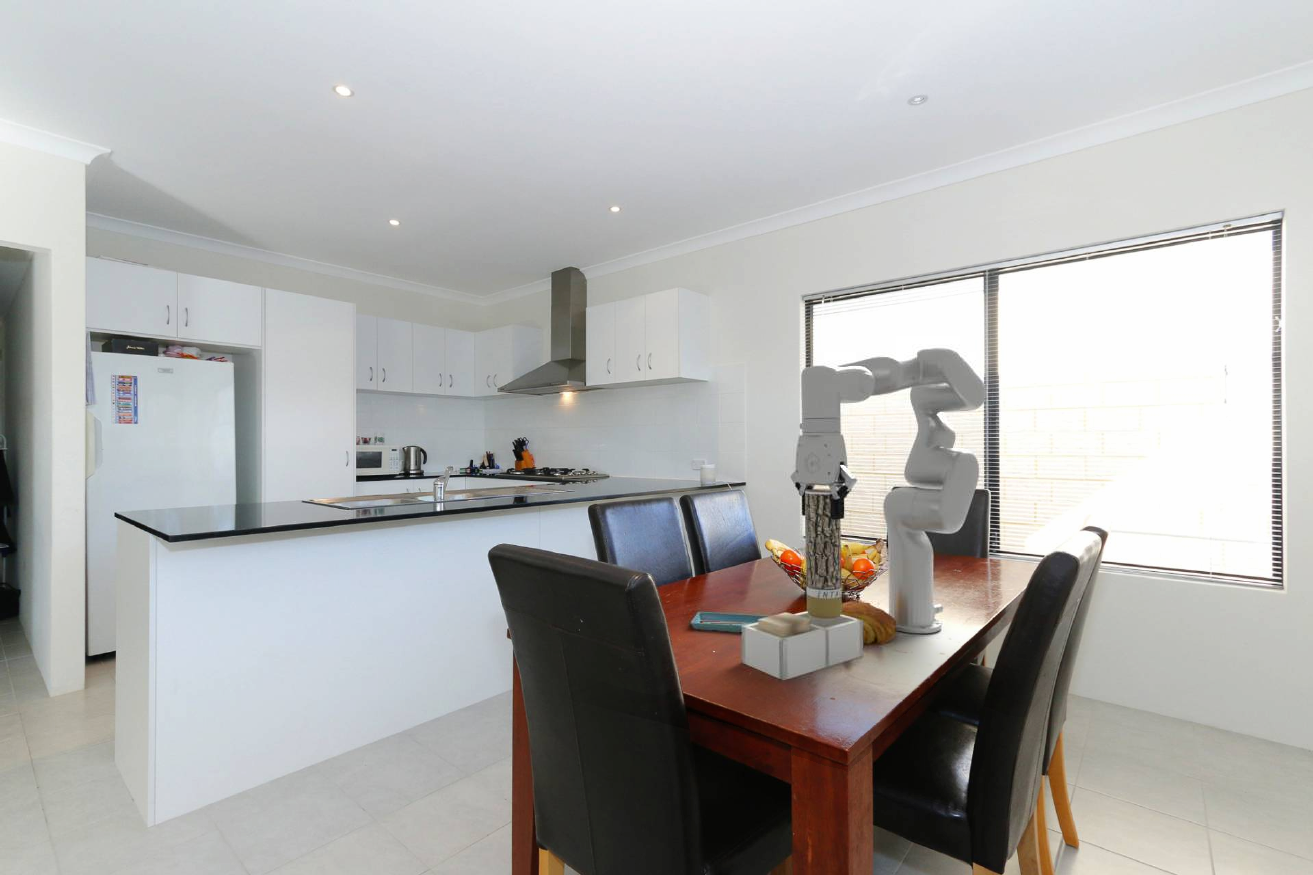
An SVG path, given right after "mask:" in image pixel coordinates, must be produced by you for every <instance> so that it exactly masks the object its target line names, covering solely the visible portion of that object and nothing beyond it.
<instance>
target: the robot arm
mask: <svg viewBox="0 0 1313 875" xmlns="http://www.w3.org/2000/svg"><path fill="white" fill-rule="evenodd" d="M800 374H801V376H800V379H801V380H800V382H801V383H800V386H801V390H800V391H801V394H800V395H801V423H800V424H799V429H800V430H801V435H799V436H798V438H797V445H796V453H795V465H794V466H795V468H794V469H795V470H794V472H792V473H791V475H790V479H791V481H792V482H793V483H794V486H795V488H796V489H797V491H798V495H799V496H800V497H801V515H802V516H804V517H805V490H807V489H815V487H816V486H827V487H829V488H828V489H830V490H831V493H832V495H833V498H834V499H831V519H833V520H836V519H840V520H842V519H845V499H846V498H848V495H849V494H850V492H851V491H852V489H853V487H854V486H855V485H856V484H857V483H858V481H857V480H858V479H857V478H856V477H855V476H854V475H853V473H851V471H850V470H849V469H848V456H847V448H846V443H845V439H844V434H842V431H841V430H842V428H841V426H842V425H841V424H842V422H841V417H842V416H841V415H842V413H841V404H856V403H857V404H858V403H861V402H864V401H866V400H868V399H869V398H870V397H874V396H875V397H876V396H882V395H888V394H892V393H896V392H899V391H903V390H906V389H910V393H909V399H910V403H911V406H912V410H913V412H914V416H915V420H916V423H917V433H916V436H915V440H914V441H913V444H912V447H911V449H910V452H909V454H908V457H907V460H906V463H905V467H904V470H903V471H904V472H903V474H904V479H905V481H906V482H907V483H908V484H909V485H910V486H909V487H907V486H906V487H902V486H901V487H897V488H893V489H892V490H891V491H889V492H888V493H887V494H886V495H885V497H884V500H883V514H884V520H885V524H886V530H887V541H888V549H887V550H888V551H887V552H888V556H887V557H888V562H887V563H888V614H889V615H890V616H892V617H893V618H894V619H895V620H896V622H897V624H896V626H895V627H896V632H897V631H898V632H903V633H910V634H932V633H933V634H934V633H937V632H940V630H942V623H941V622H940V621H939V620H938V619H936V618H935V617H936V616H935V615H936V614H940V613H942V612H943V611H944V608H943V607H944V606H942V604H940V603H938V604H937V603H936V604H934V548H933V546H932V543H931V541H930V539H929V537H928V535H927V534H926V532H929V533H937V534H948V535H949V534H950V535H951V534H954V533H957V532H959V530H960V529H961V528H962V527H963V525H964V523H965V521H966V518H967V516H968V512H969V509H970V507H971V504H972V501H973V498H974V494H975V491H976V488H977V487H978V486H977V485H978V482H979V477H980V464H979V461H978V459H977V458H978V457H976V455H975V454H974V453H973V452H972V451H971V450H968V449H964V448H955V447H954V446H955V443H956V439H957V438H956V432H955V429H954V427H953V426H952V424H951V423H950V422H949V420H948V419H947V418H946V417H945V414H944V413H949V412H950V413H951V412H952V413H953V412H970V411H975V410H978V409H980V408H981V406H983V405H984V403H985V401H986V397H987V392H986V391H987V390H986V386H985V383H984V381H983V378H982V377H981V376H980V374H979V373H978V372H977V371H976V370H975V369H974V367H973V366H972V365H971V363H970V362H969V361H968V360H967V359H966V358H965V356H964V355H963V354H962V353H961V352H960V351H959V350H957V349H956V348H954V347H952V346H950V345H947V344H946V345H945V344H944V345H943V344H942V345H935V346H933V345H932V346H928V347H921V348H920V347H919V348H912V349H911V348H910V349H907V350H902V351H897V352H893V353H889V354H883V355H880V356H875V357H870V358H866V359H862V360H859V361H855V362H851V363H844V364H840V365H835V366H834V365H812V366H807V367H804V368H803V369H802V371H801V373H800ZM911 486H912V487H911Z"/></svg>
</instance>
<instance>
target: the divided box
mask: <svg viewBox="0 0 1313 875" xmlns="http://www.w3.org/2000/svg"><path fill="white" fill-rule="evenodd" d="M794 615H798V616H802V617H805V618H809V619H810V632H807V633H803V634H799V635H795V636H791V637H787V638H780V637H777V636H775V635H772V634H769V633H766V632H763V631H761V630H758V622H757V623H753V624H748V625H744V626H742V633H741V663H742V664H745V665H747V666H748V667H752V668H754V669H756V670H758V671H759V672H760V671H761V672H764V673H766V674H767V675H769V676H772V677H774V678H777V679H779V680H781V681H786V680H789V679H793V678H796V677H799V676H803V675H805V674H810V673H812V672H816V671H818V670H823V669H825V668H829V667H833V666H835V665H839V664H842V663H845V662H848V661H851V660H854V659H857V658H861V657H863V656H864V644H863V620H859V619H856V618H852V617H849V616H845V615H840V616H839V617H837V618H830V619H825V618H817V617H813V616H811V615H809V614H808V612H807V610H806V611H803V612H798V613H797V612H796V613H794Z"/></svg>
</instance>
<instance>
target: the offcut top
mask: <svg viewBox="0 0 1313 875" xmlns="http://www.w3.org/2000/svg"><path fill="white" fill-rule="evenodd" d="M794 614H795V613H794ZM794 614H793V613H790V612H785V611H784V612H781V613H779V614H774V615H768V616H769V617H766V618H762V619H758V630H761V631H763V632H766V633H769V634H772V635H775V636H777V637H780V638H787V637H791V636H795V635H799V634H803V633H807V632H810V619H809V618H805V617H802V616H798V615H794Z"/></svg>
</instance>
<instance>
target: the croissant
mask: <svg viewBox="0 0 1313 875" xmlns="http://www.w3.org/2000/svg"><path fill="white" fill-rule="evenodd" d="M841 615H845V616H849V617H852V618H856V619H859V620H863V645H864V644H868V645H870V644H876V645H884V644H886V643H889V642H890V641H892V640H893V639H894V637H895V635H896V634H897V633H896V632H897V630H896V627H895V626H896V624H897V622H896V620H895V619H894V618H893V617H892V616H890V615H889V613H888V612H886V611H885V610H884V609H881V608H880V607H876V606H874V605H872V604H871V603H870V602H863V601H848V602H847V601H846V602H842V614H841Z"/></svg>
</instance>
